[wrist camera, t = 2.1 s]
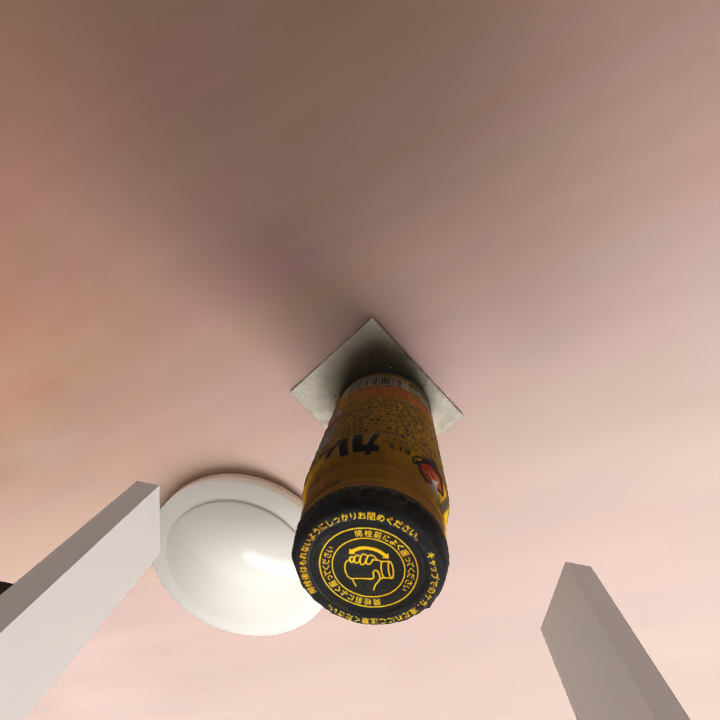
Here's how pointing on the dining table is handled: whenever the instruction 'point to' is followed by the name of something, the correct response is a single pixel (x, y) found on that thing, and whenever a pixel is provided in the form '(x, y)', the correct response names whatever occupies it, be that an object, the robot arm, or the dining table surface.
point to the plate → (234, 554)
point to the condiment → (374, 484)
